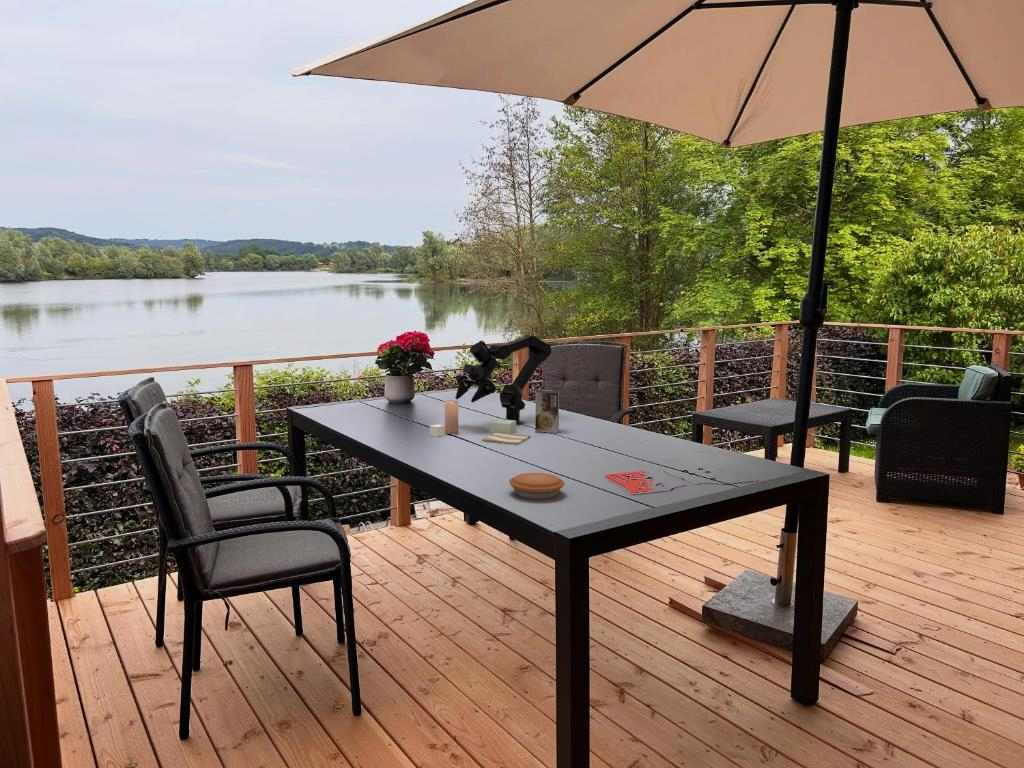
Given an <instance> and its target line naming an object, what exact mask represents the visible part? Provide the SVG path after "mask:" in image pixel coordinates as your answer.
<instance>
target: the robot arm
mask: <svg viewBox="0 0 1024 768" xmlns="http://www.w3.org/2000/svg"><path fill="white" fill-rule="evenodd" d="M524 348H527V349H528V350H529V352H528V359H527V361H526V362H525V364H524V365H523V367H522V368H521V370H520V371H519V373H518V374H517V376H516V377H515V378H514V380H513V382H512V383H510V384H507V383H506V384H505V385H504V386H503V388H502V390H500V394H499V401H500V403H501V408H503V409H505V420H515V421H516V426H517V425H520V424H522V423H523V420H521V418H520V417H521V411H522V410H525V407H526V403H525V402H524V401H523V400H522V397H523V390H524V388H525V387H526V385H527V384H528V382H529V380H530V379H531V378H532V376H533V375H534V373H535V371H536V370H537V368H538V367H539V365H540V364H542V363H543V362H545V361H547V359H548V358H549V357H550V355H551V354H552V347H551V345H550V343H547V342H545V341H543V340H541V338H538V337H537V336H536V335H533V334H526V335H525V334H524V336H521V337H519V338H516V339H513V340H511V341H508V342H503V343H494V344H490V346H489V347H488V346H487V344H486V343H485V341H484V340H479V341H478V342H476V343H474V344H472V345H471V347H470V348H469V352H470V353H471V355H472V356H473V358H475V360H476V361H477V363H480V364H477V363H476V364H475V365H473V364H469V363H465V364H464V365H463V368H462V373H465V374H467V375H465V374H457V376H456V377H455V378H454V379H455V380H456V383H457V385H458V386H457V390H456V394H455V400H458V399H460V398H461V397H463V396H464V395H465V394H466V393H467V392H468V391H469V390H470V389H471V387H472V386H474V387H477V389H476V391H475V393H474V395H473V397H472V398H471V400H470V402H471V403H473V404H474V403H475V402H476V401H478V400H480V399H482V398H484V397H486V396H488V395H489V396H490V395H491V394H493V395H494V393H495V392H496V391H497V387H496V384H495V383H494V382H493V381H492V374H493V372H494V371H495V370H496V369H498V370H501V369H502V366H501V362H500V361H497V360H506V359H507V358H509V357H510V356H511V355H512V353H514V352H516V351H520V350H522V349H524ZM467 376H468V377H467Z"/></svg>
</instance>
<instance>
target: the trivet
mask: <svg viewBox="0 0 1024 768" xmlns="http://www.w3.org/2000/svg"><path fill="white" fill-rule="evenodd" d="M529 439H531V435H528V434H519V433H512V434H509V433H498V432H496V433H494V434H489V435H488V436H486V437H483V438H482V439H481V442H482V441H489V442H488V443H492V442H498V443H497V444H502V443H505V444H506V445H512V444H515V445H514V446H518V444H519V445H520V444H522V443H524V442H525V441H527V440H529ZM523 441H524V442H523ZM505 444H504V445H505Z"/></svg>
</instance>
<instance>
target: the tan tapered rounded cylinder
mask: <svg viewBox="0 0 1024 768" xmlns="http://www.w3.org/2000/svg"><path fill="white" fill-rule="evenodd" d="M444 426H445V435H446V434H457V435H459V401H458V400H456V399H453V400H452V399H450V400H445V401H444Z"/></svg>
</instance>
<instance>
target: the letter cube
mask: <svg viewBox="0 0 1024 768" xmlns="http://www.w3.org/2000/svg"><path fill="white" fill-rule="evenodd" d="M430 435H432V436H431V437H433V436H436V437H435V438H439V437H438V436H442V437H445V436H446V434H445V425H444V424H440V423H438V424H431V425H429V436H430ZM444 435H445V436H444Z"/></svg>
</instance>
